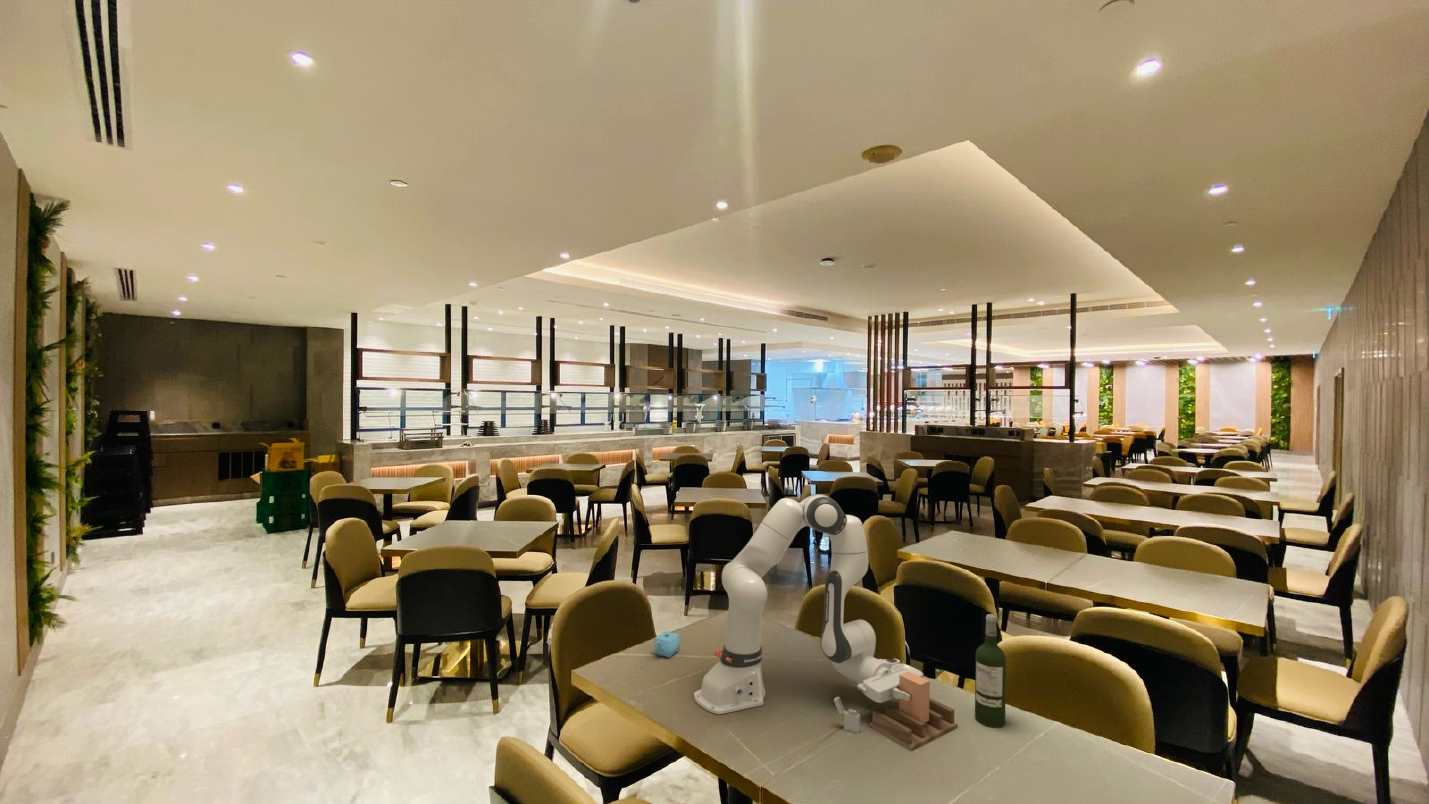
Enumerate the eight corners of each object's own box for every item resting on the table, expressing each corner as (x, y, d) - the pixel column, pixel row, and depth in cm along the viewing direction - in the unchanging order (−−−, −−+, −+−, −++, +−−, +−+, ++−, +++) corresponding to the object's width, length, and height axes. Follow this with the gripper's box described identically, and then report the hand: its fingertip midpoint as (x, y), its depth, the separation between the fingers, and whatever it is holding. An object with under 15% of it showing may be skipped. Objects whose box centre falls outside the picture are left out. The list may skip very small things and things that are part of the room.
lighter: (860, 729, 168) (860, 700, 168) (858, 732, 167) (859, 703, 167) (834, 723, 171) (834, 695, 171) (833, 726, 170) (833, 698, 170)
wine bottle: (975, 724, 171) (976, 618, 171) (974, 711, 179) (975, 609, 178) (1006, 730, 168) (1008, 622, 168) (1003, 716, 176) (1005, 612, 176)
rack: (911, 750, 158) (911, 733, 158) (869, 726, 170) (869, 710, 170) (957, 727, 170) (957, 711, 170) (915, 706, 181) (915, 691, 181)
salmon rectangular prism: (919, 725, 166) (920, 685, 166) (898, 713, 172) (899, 675, 171) (929, 720, 168) (929, 681, 168) (908, 709, 174) (908, 671, 174)
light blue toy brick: (664, 663, 209) (664, 641, 209) (649, 660, 212) (649, 638, 212) (681, 650, 220) (681, 629, 219) (667, 647, 222) (667, 626, 222)
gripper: (853, 674, 174) (892, 694, 163) (899, 657, 186) (939, 674, 175) (853, 696, 175) (892, 717, 163) (899, 677, 186) (938, 696, 175)
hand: (916, 695), depth 169 cm, fingers closed on salmon rectangular prism, 4 cm apart
